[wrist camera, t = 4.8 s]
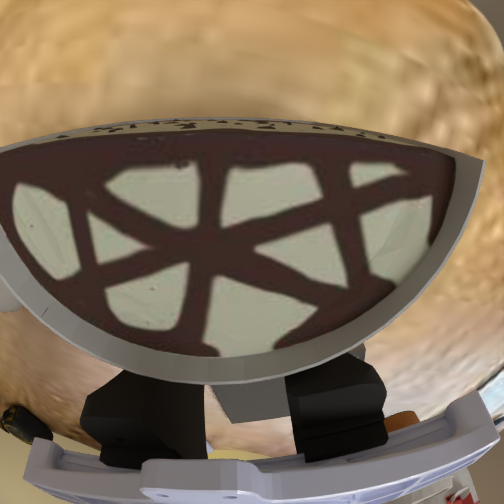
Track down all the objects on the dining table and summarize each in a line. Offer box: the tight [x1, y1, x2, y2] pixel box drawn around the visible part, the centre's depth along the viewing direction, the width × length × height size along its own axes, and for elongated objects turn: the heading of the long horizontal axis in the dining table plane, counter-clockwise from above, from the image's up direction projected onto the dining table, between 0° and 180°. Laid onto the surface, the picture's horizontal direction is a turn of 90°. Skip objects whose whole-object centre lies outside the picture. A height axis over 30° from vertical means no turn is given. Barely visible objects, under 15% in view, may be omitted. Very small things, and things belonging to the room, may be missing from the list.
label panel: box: [211, 343, 366, 424], centre depth 23 cm, size 12×8×1 cm, turn 101°
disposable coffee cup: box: [382, 411, 454, 504], centre depth 26 cm, size 10×10×12 cm
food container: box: [0, 117, 486, 385], centre depth 10 cm, size 12×6×10 cm, turn 88°
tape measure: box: [3, 407, 53, 445], centre depth 27 cm, size 7×7×4 cm
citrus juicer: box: [421, 467, 480, 504], centre depth 38 cm, size 16×17×20 cm
